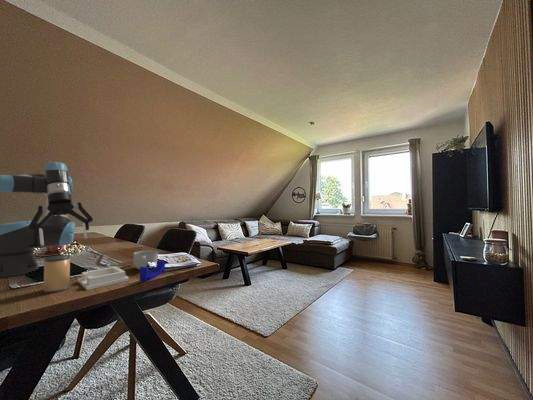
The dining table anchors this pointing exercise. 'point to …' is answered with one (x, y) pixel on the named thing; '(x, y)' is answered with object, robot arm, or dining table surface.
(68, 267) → the tan cylindrical piece
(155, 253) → the teacup
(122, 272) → the holder
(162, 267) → the cable clip
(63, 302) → the dining table surface
